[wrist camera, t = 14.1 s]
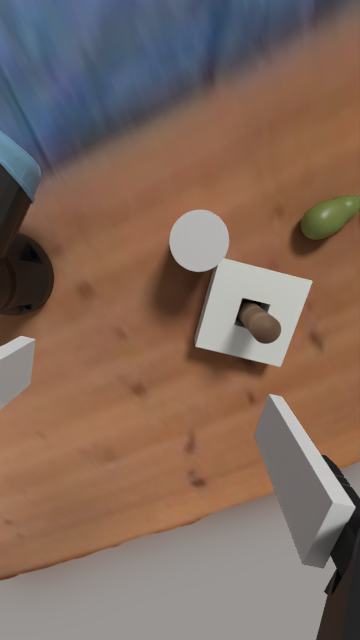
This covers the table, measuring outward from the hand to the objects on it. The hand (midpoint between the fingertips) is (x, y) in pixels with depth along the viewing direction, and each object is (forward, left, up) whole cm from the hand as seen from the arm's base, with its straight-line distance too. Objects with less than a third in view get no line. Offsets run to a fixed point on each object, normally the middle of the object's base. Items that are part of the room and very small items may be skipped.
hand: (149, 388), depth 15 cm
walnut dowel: (+14, 0, -37) cm, 39 cm away
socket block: (+14, 0, -37) cm, 39 cm away
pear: (+22, +19, -37) cm, 47 cm away
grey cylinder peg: (+2, +9, -37) cm, 38 cm away
